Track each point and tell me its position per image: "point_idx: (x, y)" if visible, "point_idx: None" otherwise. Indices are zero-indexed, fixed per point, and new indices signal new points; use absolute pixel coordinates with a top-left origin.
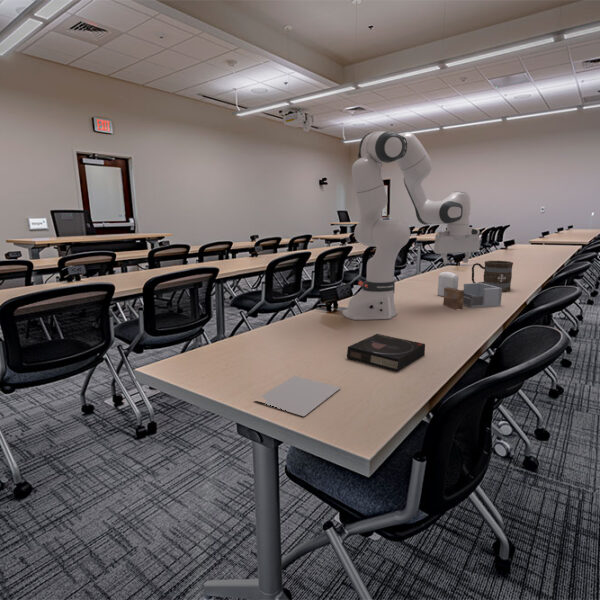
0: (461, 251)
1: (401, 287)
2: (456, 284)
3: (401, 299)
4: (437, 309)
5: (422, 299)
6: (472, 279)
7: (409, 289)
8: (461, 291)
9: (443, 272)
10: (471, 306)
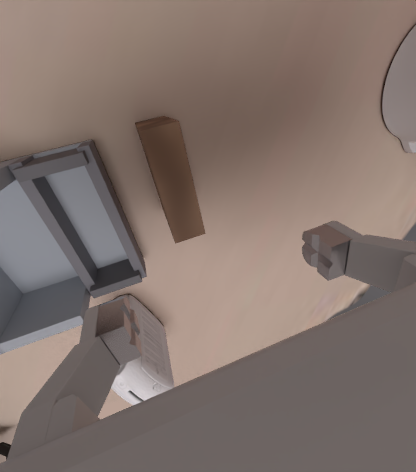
0: (241, 377)
1: None
2: None
3: (282, 267)
4: (234, 127)
5: (226, 272)
6: None
7: None
8: (153, 128)
9: None
10: (88, 141)
